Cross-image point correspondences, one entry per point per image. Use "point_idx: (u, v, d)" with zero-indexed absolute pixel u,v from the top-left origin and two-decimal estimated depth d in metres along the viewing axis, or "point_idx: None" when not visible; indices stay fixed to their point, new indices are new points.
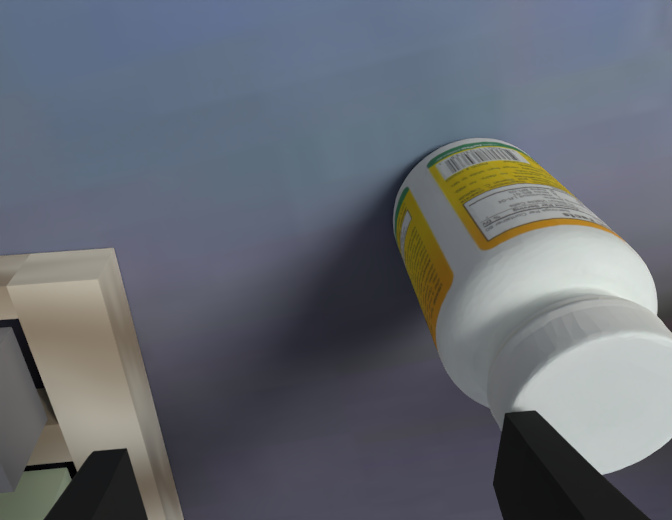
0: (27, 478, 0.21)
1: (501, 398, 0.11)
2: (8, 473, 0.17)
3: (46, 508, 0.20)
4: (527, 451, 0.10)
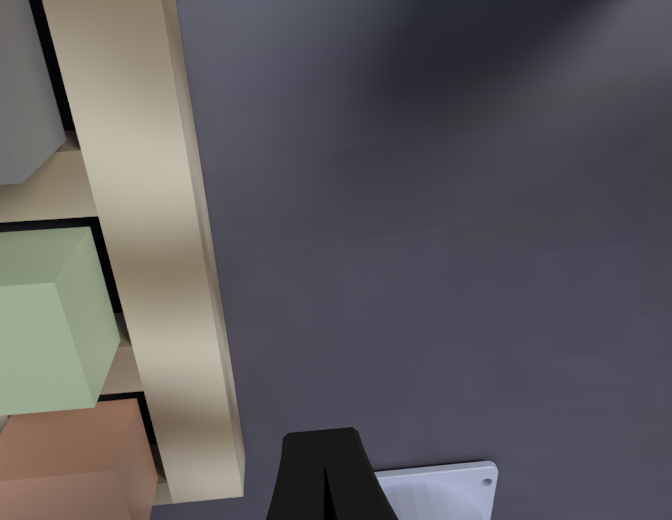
0: (38, 235, 0.16)
1: None
2: (14, 150, 0.12)
3: (65, 256, 0.14)
4: (325, 471, 0.09)
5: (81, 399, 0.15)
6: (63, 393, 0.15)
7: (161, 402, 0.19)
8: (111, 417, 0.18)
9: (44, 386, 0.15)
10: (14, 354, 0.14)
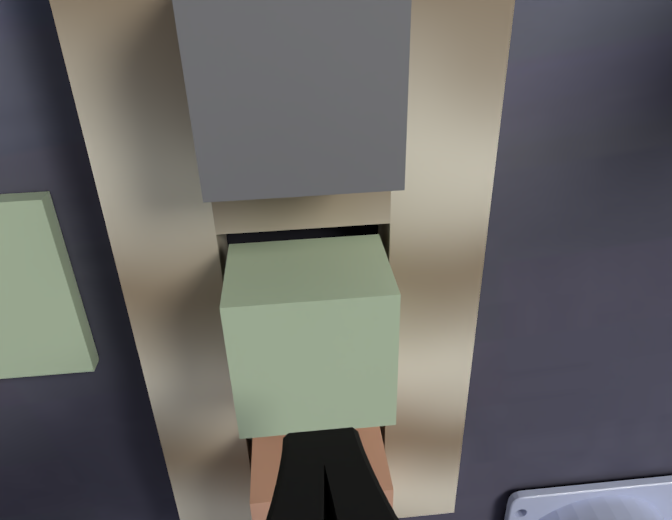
0: (331, 243, 0.15)
1: None
2: (404, 155, 0.11)
3: (384, 266, 0.14)
4: (325, 471, 0.09)
5: (385, 416, 0.14)
6: (369, 410, 0.14)
7: (400, 416, 0.19)
8: (360, 432, 0.18)
9: (353, 403, 0.14)
10: (335, 370, 0.13)
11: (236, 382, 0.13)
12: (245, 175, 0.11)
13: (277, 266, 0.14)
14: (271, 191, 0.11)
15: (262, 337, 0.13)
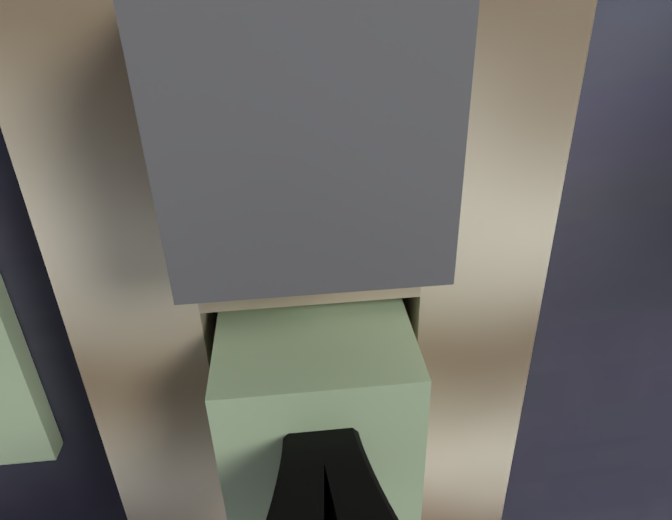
0: (343, 303, 0.12)
1: None
2: (455, 238, 0.08)
3: (407, 338, 0.11)
4: (325, 471, 0.09)
5: (408, 515, 0.12)
6: None
7: (425, 511, 0.15)
8: None
9: None
10: None
11: (227, 483, 0.11)
12: (233, 269, 0.08)
13: (278, 336, 0.11)
14: (269, 288, 0.08)
15: (259, 432, 0.10)
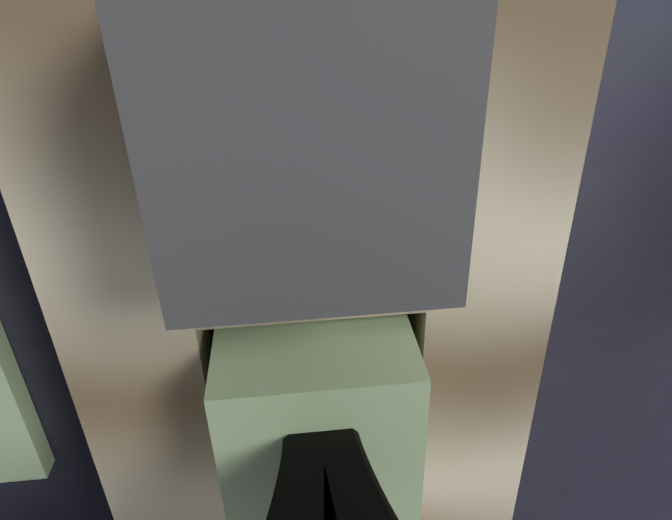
0: None
1: None
2: (467, 258, 0.07)
3: (407, 337, 0.11)
4: (325, 471, 0.09)
5: (407, 515, 0.12)
6: None
7: None
8: None
9: None
10: None
11: (226, 483, 0.11)
12: (228, 292, 0.07)
13: (277, 337, 0.11)
14: (268, 313, 0.07)
15: (258, 432, 0.10)
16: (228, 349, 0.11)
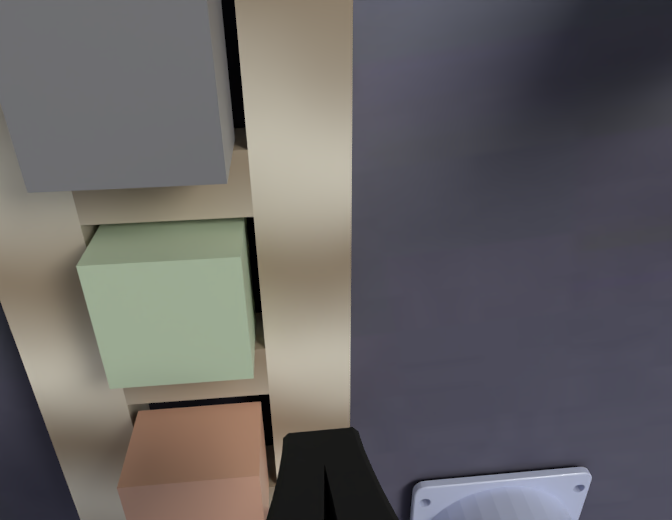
0: None
1: None
2: (224, 150, 0.12)
3: (237, 234, 0.15)
4: (325, 471, 0.09)
5: (242, 370, 0.16)
6: (227, 364, 0.16)
7: (284, 405, 0.19)
8: (240, 420, 0.18)
9: (211, 357, 0.16)
10: (190, 325, 0.15)
11: (100, 335, 0.15)
12: (66, 167, 0.11)
13: (142, 232, 0.15)
14: (94, 183, 0.11)
15: (119, 293, 0.14)
16: (104, 239, 0.15)
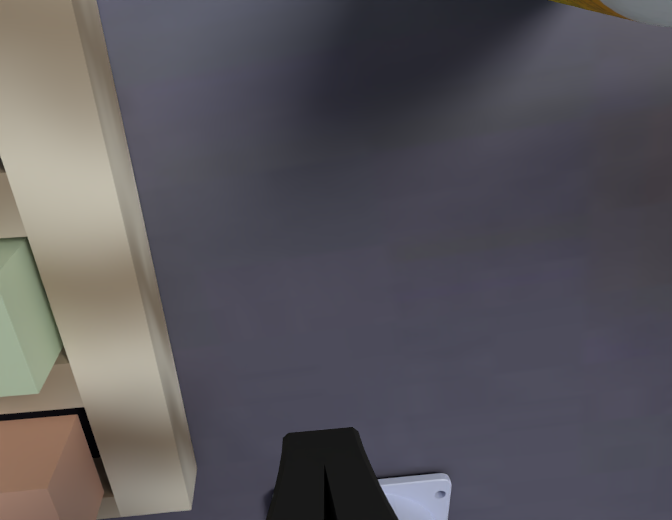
0: None
1: None
2: None
3: (8, 253, 0.16)
4: (325, 471, 0.09)
5: (25, 386, 0.16)
6: (8, 380, 0.16)
7: (102, 418, 0.19)
8: (50, 433, 0.18)
9: None
10: None
11: None
12: None
13: None
14: None
15: None
16: None
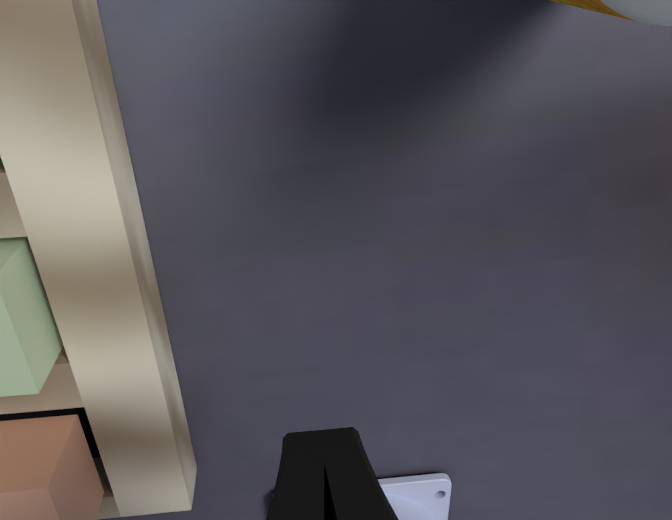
0: None
1: None
2: None
3: (8, 253, 0.16)
4: (325, 471, 0.09)
5: (25, 386, 0.16)
6: (8, 380, 0.16)
7: (102, 418, 0.19)
8: (50, 433, 0.18)
9: None
10: None
11: None
12: None
13: None
14: None
15: None
16: None
